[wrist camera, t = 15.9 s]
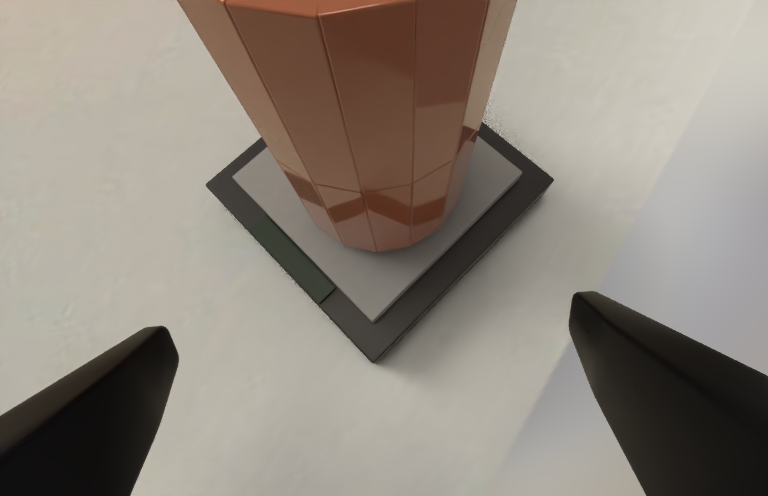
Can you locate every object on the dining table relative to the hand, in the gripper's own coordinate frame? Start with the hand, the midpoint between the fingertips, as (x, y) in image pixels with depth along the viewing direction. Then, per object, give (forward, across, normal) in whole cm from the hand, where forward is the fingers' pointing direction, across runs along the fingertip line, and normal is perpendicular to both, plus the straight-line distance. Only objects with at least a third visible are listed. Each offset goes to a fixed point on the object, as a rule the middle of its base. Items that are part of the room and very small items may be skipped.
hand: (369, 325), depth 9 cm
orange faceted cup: (+11, 0, 0) cm, 11 cm away
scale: (+14, 0, +2) cm, 14 cm away
